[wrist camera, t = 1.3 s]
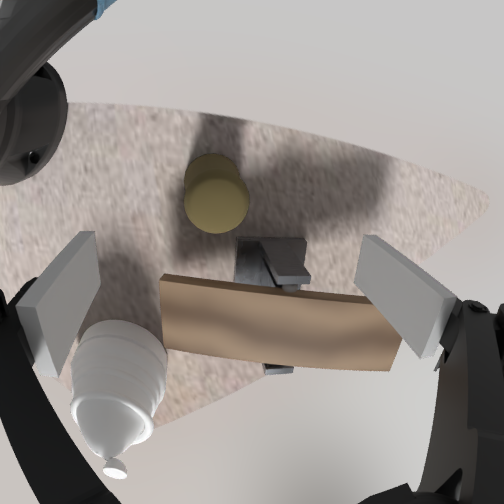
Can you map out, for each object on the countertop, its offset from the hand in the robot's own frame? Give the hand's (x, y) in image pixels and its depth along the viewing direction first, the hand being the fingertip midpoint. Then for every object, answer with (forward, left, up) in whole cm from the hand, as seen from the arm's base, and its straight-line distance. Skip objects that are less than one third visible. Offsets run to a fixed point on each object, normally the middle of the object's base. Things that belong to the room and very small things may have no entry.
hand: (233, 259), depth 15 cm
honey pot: (+24, -12, -21) cm, 34 cm away
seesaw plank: (+12, +7, -12) cm, 18 cm away
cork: (0, 0, -21) cm, 21 cm away
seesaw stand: (+12, +7, -21) cm, 25 cm away
